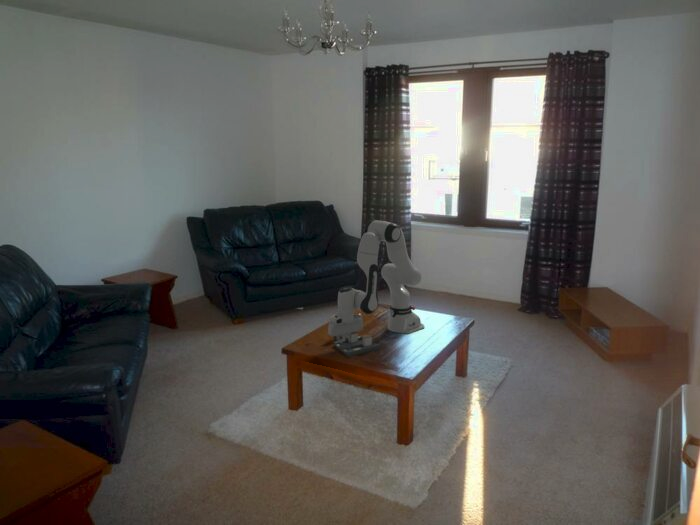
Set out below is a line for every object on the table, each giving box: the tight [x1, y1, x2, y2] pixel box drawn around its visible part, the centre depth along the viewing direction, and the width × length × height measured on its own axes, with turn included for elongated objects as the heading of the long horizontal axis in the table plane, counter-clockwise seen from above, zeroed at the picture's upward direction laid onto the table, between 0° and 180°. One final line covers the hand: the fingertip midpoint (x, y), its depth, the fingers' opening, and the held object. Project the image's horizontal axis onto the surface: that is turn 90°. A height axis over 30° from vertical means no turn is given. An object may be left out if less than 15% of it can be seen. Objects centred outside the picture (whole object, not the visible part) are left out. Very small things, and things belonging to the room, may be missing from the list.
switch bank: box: [333, 335, 382, 357], centre depth 280 cm, size 20×16×3 cm
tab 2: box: [361, 334, 373, 347], centre depth 277 cm, size 4×3×6 cm
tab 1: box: [349, 331, 359, 343], centre depth 282 cm, size 4×3×6 cm
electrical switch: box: [333, 334, 347, 342], centre depth 291 cm, size 9×5×9 cm, turn 141°
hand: (345, 340), depth 280 cm, fingers closed
